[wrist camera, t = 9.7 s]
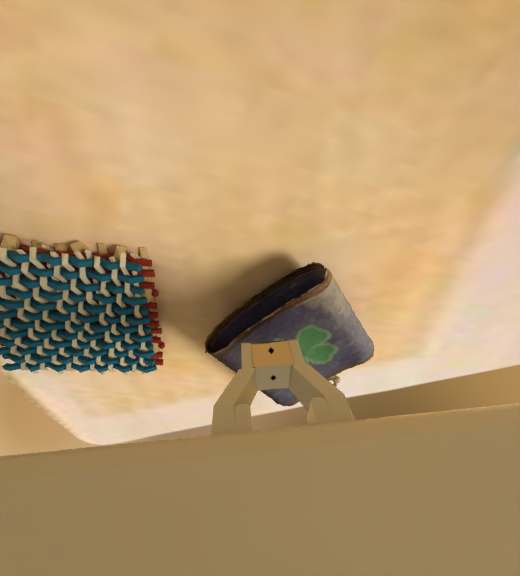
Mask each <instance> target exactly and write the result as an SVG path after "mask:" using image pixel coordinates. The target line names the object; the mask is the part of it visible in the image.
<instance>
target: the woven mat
mask: <svg viewBox="0 0 520 576" xmlns="http://www.w3.org/2000/svg"><path fill="white" fill-rule="evenodd" d="M32 244H33V247H29V246H27V245H21V244H20V240H19V238H17V237H16V236H11V235H6V234H4V237H3V239H2V242H0V344H1V345H2V346H7V347H2V348H0V355H1V354H3V355H2V357H3V358H4V359H11V360H12V361H14V362H16V363H14V364H8V363H7V364H5V365H4V366H2V367H3V368H4V369H5V370H9V371H11V370H16V369H21V370H30V371H31V372H33V371H34V373H38V372H39V370H48V369H47V368H46V367H50V368H52V369H54V370H55V371H57V372H59V374H62V373H63V370H65V369H66V371H75V370H78V371H79V372H80V373H84V371H87V370H90V371H93V372H97V371H98V372H100V373H101V374H105V373H106V371H107V370H109V372H115V370H114V369H113V368H115V369H117V370H119V371H121V372H123V373H124V374H128V371H131V370H132V372H137V373H138V371H139V370H140V371H142V374H145V373H148V372H151V371H154V370H157V367H156V365H163V359H161V358H162V355H163V353H162V352H161V350H160V348H161V349H163V348H164V347H165V344H164V343H163V342H161V337H159V336H158V334H162V331H161V328H157V327H158V326H159V321H156V319H157V317H158V312H155V309H156V308H157V303H155V302H154V297H156V296H158V291H157V290H155V289H154V287H155V285H154V282H152V281H151V277H155V273H154V270H150V267H151V266H152V260H149V257H148V253H147V250H146V248H144V247H139V256H140V257H139V256H137V255H136V254H133V253H130V255H128V254H127V247H123V246H118V245H117V246H116V249H115V253H112V254H109V252H108V248H107V245H106V244H105V243H97V248H98V254H92V253H91V250H89V248H88V247H86V246H85V245H84V244H83V243H81V242H80V241H78V242H75V243H73V244H71V245H70V246H71V248H72V250H73V252H69V251H68V246H67V245H66V244H57V243H54V245H55V250H53V249H52V248H50V247H48V246H46V245H44V243H43V242H35V241H33V242H32ZM20 320H23V322H22V321H20ZM57 321H58V322H59V323H57ZM98 324H99V325H98ZM65 331H67V332H65ZM94 331H95V332H94ZM96 332H98V333H96ZM145 334H148V335H145ZM102 340H104V342H103V341H102ZM133 341H134V342H135V343H134V342H133ZM146 347H147V348H148V349H147V348H146ZM150 357H152V358H154V359H150ZM103 362H104V363H103ZM33 364H34V365H33ZM84 364H86V365H84ZM128 364H129V365H128ZM146 365H147V366H148V367H146ZM27 367H28V368H27ZM94 368H95V369H94ZM48 371H50V370H48ZM124 374H123V375H124Z"/></svg>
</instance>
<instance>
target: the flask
mask: <svg viewBox="0 0 520 576" xmlns="http://www.w3.org/2000/svg"><path fill="white" fill-rule="evenodd" d="M292 339H297V340H298V343H299V346H300V349H301V352H302V355H303V358H304V361H305V364H307V363H308V364H309V365H310V366H312V367H313V368H314V369H315V370H316V371H317V372H319V373H320V374H321V375H322V376H323V377H324V378H326V379H327V380H328V381H330V380H333V381H334V384H333V385H334V386H335V387H336V386H337V383H339V381H340V377H337V376H335V375H337V374H338V373H341V372H342V371H344V370H346V369H348V368H352V367H354V366H356V365H360V364H363V363H365V362H366V361H368V360H369V359H370V358H371V357H372V356H373V352H374V345H373V341H372V340H371V338H370V337H369V336H368V335H367V333H366V331H365V330H364V328H363V327H362V325H361V323H360V321H359V320H358V319H357V317H356V315H355V313H354V312H353V310H352V308H351V305H350V304H349V302H348V301H347V299H346V298H345V297H344V295H343V293H342V292H341V290H340V289H339V286H338V285H337V283H336V281H335V279H334V278H333V276H332V274H331V272H330V271H329V270H328V269H327V268H324V266H323V265H322V264H320V263H314V262H313V263H311V264H308V265H307V266H305V267H302V268H299V269H296V270H294V271H292V272H291V273H290V274H289V275H287V276H286V277H283V278H282V279H281V280H279V281H276V282H275V283H274V284H272V285H271V286H269V287H268V288H266V289H264V290H263V291H262V292H261V293H260V294H259V295H255V296H254V297H252V298H251V299H250V300H248V301H246V302H245V303H243V304H242V305H241V306H240V307H239V308H238V309H236V310H234V311H233V312H232V313H231V314H230V315H229V316H227V317H226V318H225V319H224V320H222V321H221V322H220V323H219V324H218V325H217V326H216V327H215V328H214V329H213V330H212V332H211V333H210V334H209V335H208V337H207V340H206V342H205V348H206V351H205V353H206V352H208V353H209V354H211V355H212V356H214V357H215V358H216V359H218V360H219V361H220V362H222V363H223V364H225V365H226V366H227V367H229V368H230V369H232V370H233V371H235V372H236V373H237V371H238V370H239V369H242V357H241V343H251V342H269V341H279V340H292ZM260 391H262V392H263V393H264V394H266V395H267V396H268V397H270V398H272V399H273V400H274V401H275V402H276V403H277V404H281V405H283V406H292V405H294V404H296V403H298V402H299V400H298V399H297V397H296V396H295V395H294V394H293V393H292V391H291V390H290V389H289V388H278V389H267V390H260Z"/></svg>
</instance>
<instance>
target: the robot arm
mask: <svg viewBox="0 0 520 576" xmlns="http://www.w3.org/2000/svg"><path fill="white" fill-rule="evenodd" d="M241 357H242V369H239V370H238V371H237V373H236V374H235V376H234V377H233V379H232V380H231V382H230V383H229V384H228V386H227V387H226V389H225V390H224V392H223V393H222V395H221V396H220V398H219V399H218V401H217V402H216V403H215V405H214V409H213V420H212V431H211V435H205V436H197V437H187V438H177V439H167V440H157V441H147V442H137V443H127V444H117V445H107V446H97V447H87V448H78V449H67V450H58V451H48V452H38V453H28V454H18V455H8V456H0V576H520V403H518V404H509V405H498V406H489V407H479V408H470V409H460V410H450V411H440V412H431V413H420V414H410V415H402V416H392V417H381V418H371V419H362V420H355V419H354V416H353V414H352V412H351V409H350V407H349V405H348V402H347V400H346V398H345V395H344V394H343V393H342V392H341V391H340V390H339V389H337V388H336V387H335V386H334V385H333V384H331V383H330V382H329V381H328V380H327V379H326V378H324V377H323V376H322V375H321V374H320V373H319V372H317V371H316V370H315V369H314V368H313V367H312V366H310V365H309V364H308V363H307V364H305V361H304V358H303V355H302V352H301V349H300V346H299V343H298V340H297V339H292V340H279V341H269V342H251V343H241ZM278 388H289V389H290V390H291V391H292V393H293V394H294V395H295V396H296V397H297V399H298V400H299V401H300V402H301V404H302V405H303V406H304V407H305V408H306V409H307V411H308V418H307V422H306V425H303V426H294V427H284V428H274V429H265V430H255V431H252V427H251V411H250V405H251V403H252V401H253V399H254V397H255V395H256V393H257V391H259V390H267V389H278Z"/></svg>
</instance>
